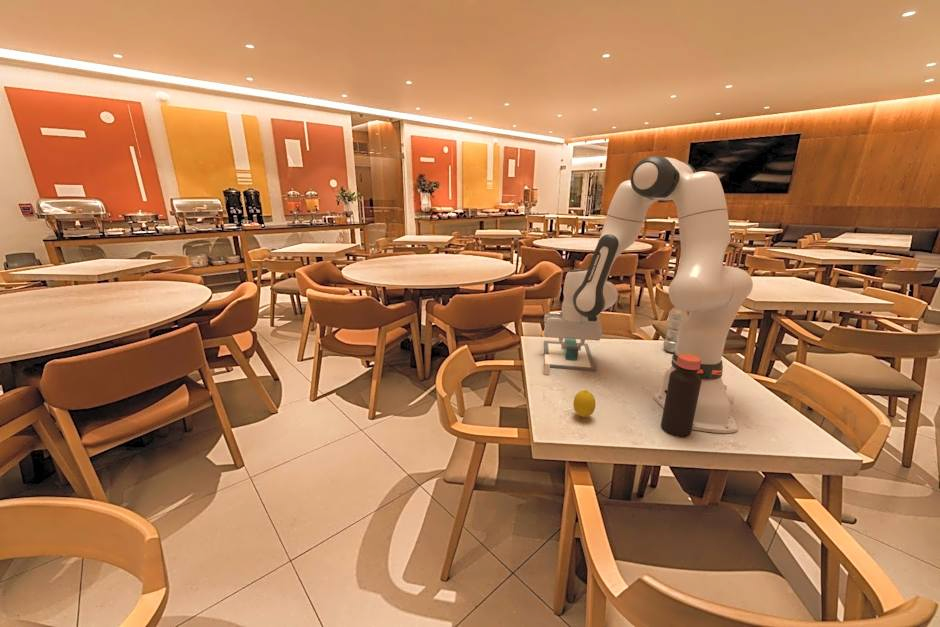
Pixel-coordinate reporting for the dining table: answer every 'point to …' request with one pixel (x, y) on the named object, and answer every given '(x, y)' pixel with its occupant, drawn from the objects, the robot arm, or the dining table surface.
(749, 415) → the dining table surface
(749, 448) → the dining table surface
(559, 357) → the writing board
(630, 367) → the dining table surface
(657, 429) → the dining table surface
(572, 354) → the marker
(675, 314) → the plastic bottle
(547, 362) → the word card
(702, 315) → the robot arm
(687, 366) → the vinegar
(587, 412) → the lemon
